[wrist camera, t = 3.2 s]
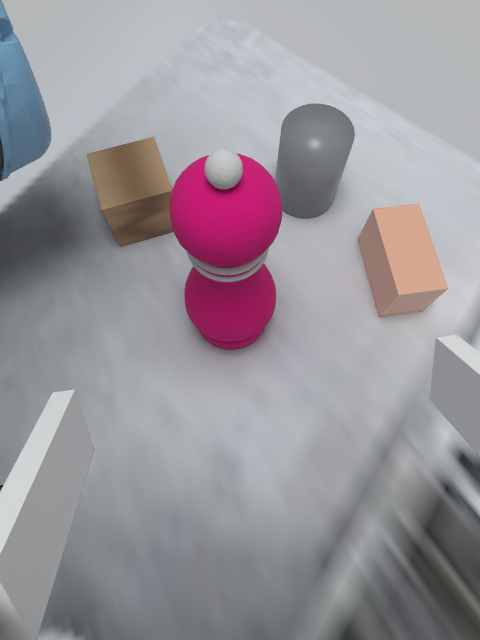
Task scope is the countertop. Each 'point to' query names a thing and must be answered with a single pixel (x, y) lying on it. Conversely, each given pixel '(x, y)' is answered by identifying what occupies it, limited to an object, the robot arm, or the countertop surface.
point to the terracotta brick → (400, 260)
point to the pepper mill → (227, 245)
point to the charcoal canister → (312, 158)
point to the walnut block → (133, 190)
